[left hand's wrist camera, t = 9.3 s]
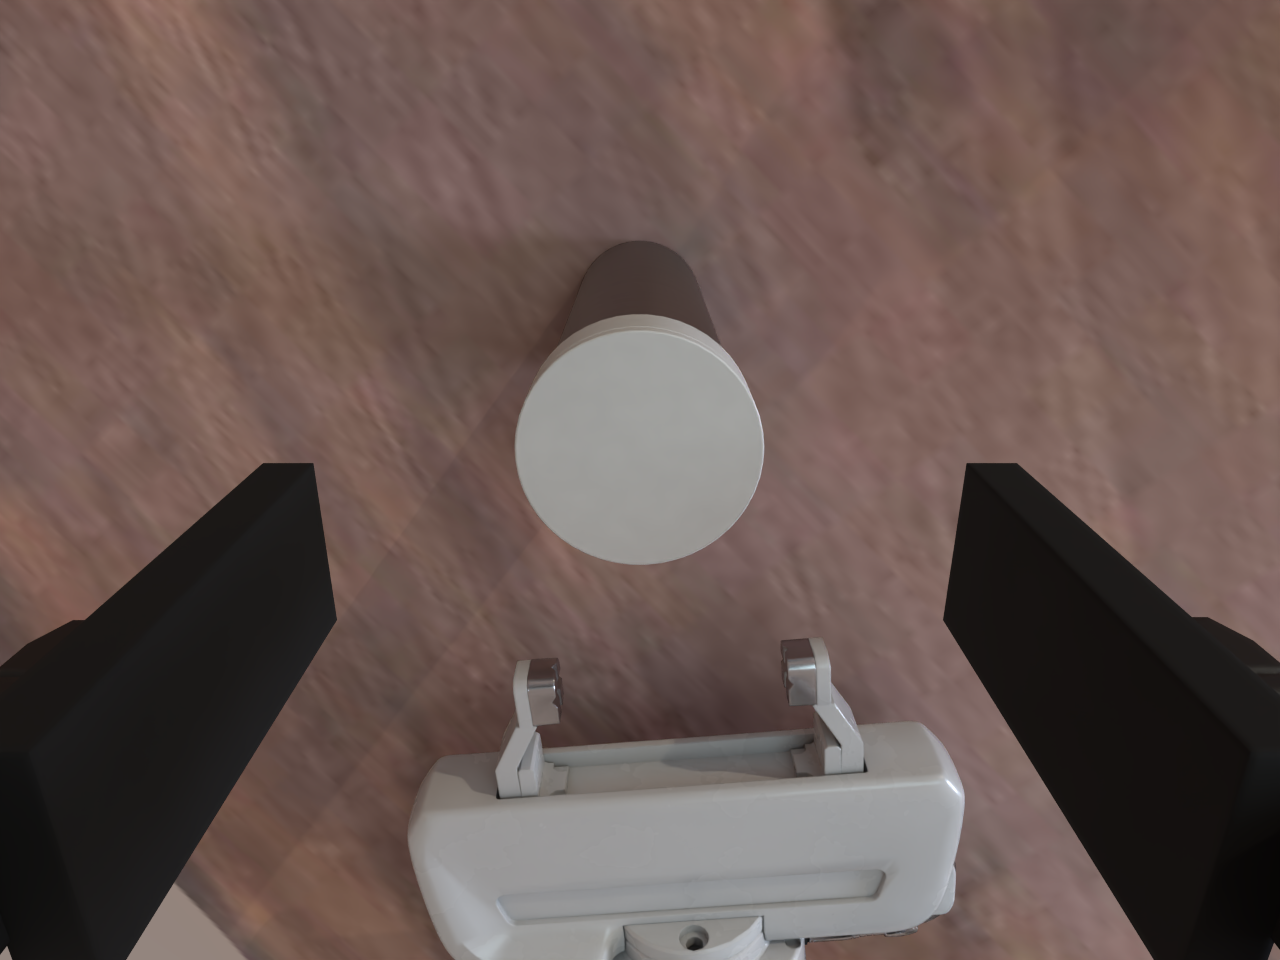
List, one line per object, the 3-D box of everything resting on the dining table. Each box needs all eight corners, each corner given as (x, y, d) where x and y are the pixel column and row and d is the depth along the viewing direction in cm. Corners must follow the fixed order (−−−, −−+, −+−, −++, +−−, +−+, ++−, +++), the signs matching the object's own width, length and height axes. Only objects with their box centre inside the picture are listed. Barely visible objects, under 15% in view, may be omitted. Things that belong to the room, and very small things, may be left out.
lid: (780, 495, 19) (792, 526, 18) (570, 558, 20) (565, 593, 18) (716, 281, 18) (724, 295, 16) (489, 356, 18) (475, 377, 17)
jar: (715, 341, 33) (776, 511, 18) (602, 378, 33) (572, 572, 19) (679, 223, 31) (714, 305, 17) (561, 264, 32) (494, 378, 17)
